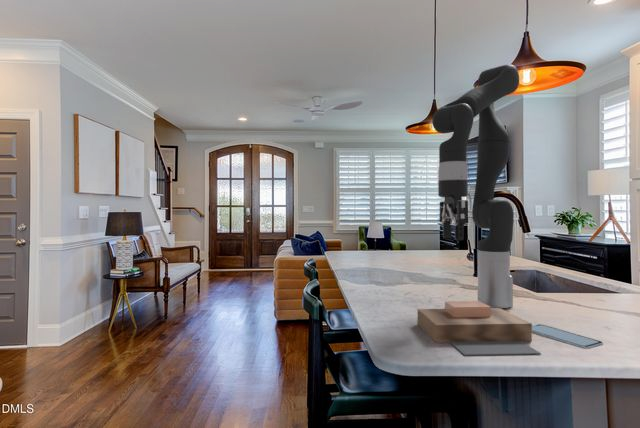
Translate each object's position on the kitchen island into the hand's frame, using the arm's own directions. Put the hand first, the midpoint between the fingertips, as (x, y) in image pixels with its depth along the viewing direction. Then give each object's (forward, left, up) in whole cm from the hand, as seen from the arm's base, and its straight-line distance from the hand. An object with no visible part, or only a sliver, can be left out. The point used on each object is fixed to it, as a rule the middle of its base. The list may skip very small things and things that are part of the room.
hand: (452, 239), depth 103 cm
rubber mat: (0, +22, -22) cm, 31 cm away
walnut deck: (0, +11, -22) cm, 24 cm away
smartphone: (-20, +15, -23) cm, 34 cm away
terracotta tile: (0, +9, -18) cm, 20 cm away
